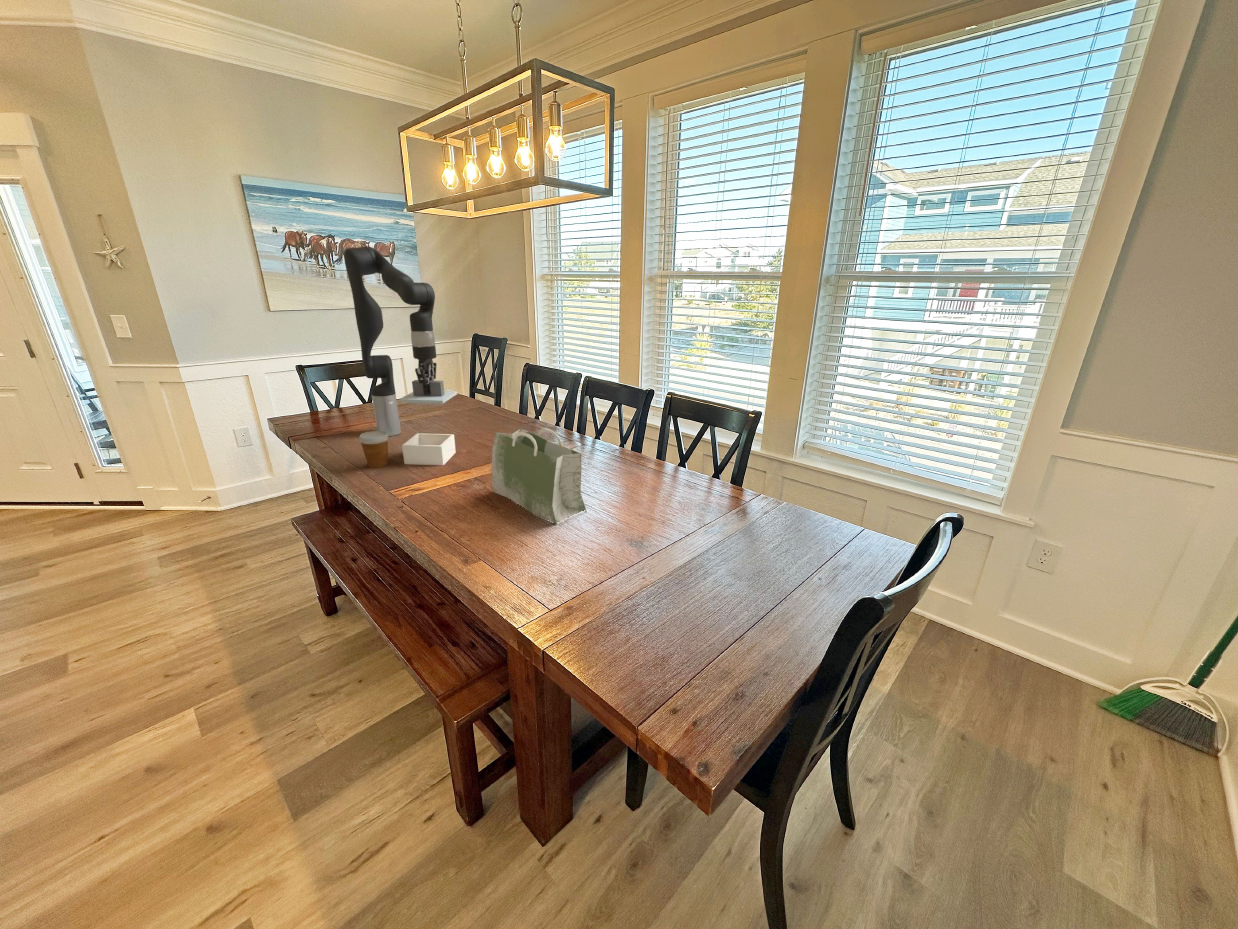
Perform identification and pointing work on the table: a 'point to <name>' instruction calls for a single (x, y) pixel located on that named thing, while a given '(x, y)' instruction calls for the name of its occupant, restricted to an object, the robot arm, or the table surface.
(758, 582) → the table surface
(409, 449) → the storage box
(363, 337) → the robot arm
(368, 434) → the disposable coffee cup
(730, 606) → the table surface
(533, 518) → the table surface
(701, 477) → the table surface
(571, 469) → the grocery bag
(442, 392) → the box lid
